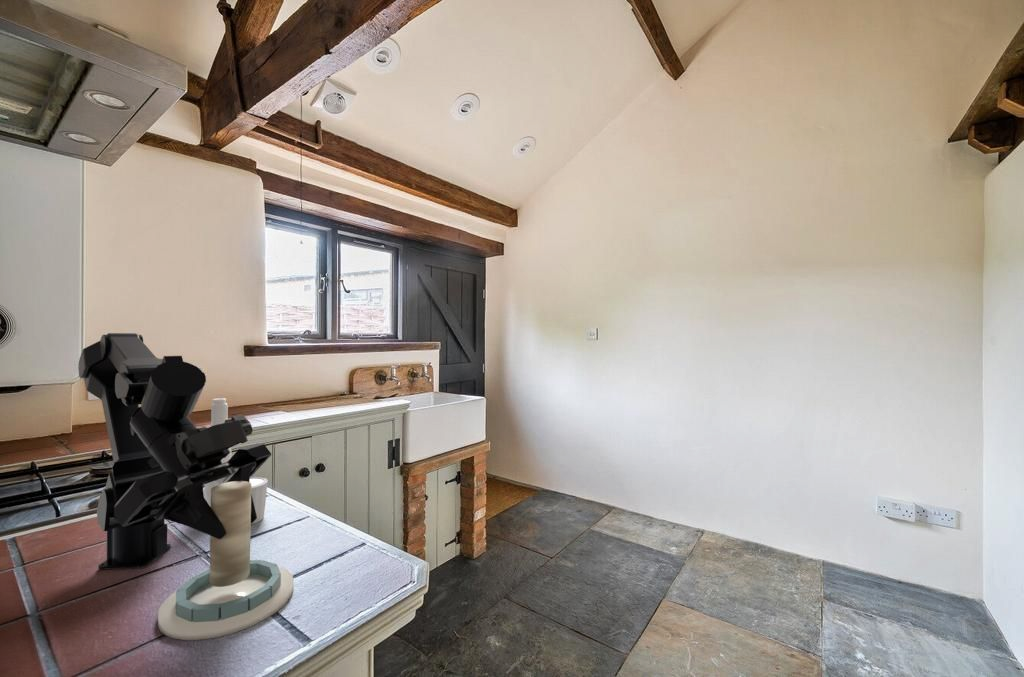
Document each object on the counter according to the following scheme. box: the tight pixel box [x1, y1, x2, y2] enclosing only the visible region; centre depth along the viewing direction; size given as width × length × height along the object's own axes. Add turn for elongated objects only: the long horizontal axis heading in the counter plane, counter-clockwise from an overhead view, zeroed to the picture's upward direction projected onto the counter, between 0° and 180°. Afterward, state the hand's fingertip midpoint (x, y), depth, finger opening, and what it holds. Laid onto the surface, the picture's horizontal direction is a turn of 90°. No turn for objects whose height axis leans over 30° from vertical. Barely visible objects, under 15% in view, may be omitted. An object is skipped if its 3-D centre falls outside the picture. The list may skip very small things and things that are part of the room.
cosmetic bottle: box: [203, 397, 233, 507], centre depth 89 cm, size 6×6×22 cm
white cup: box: [250, 476, 269, 525], centre depth 85 cm, size 7×7×7 cm
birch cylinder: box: [209, 481, 252, 587], centre depth 59 cm, size 4×4×12 cm
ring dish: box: [157, 559, 295, 641], centre depth 59 cm, size 15×15×2 cm
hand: (239, 528), depth 59 cm, fingers closed on birch cylinder, 4 cm apart
